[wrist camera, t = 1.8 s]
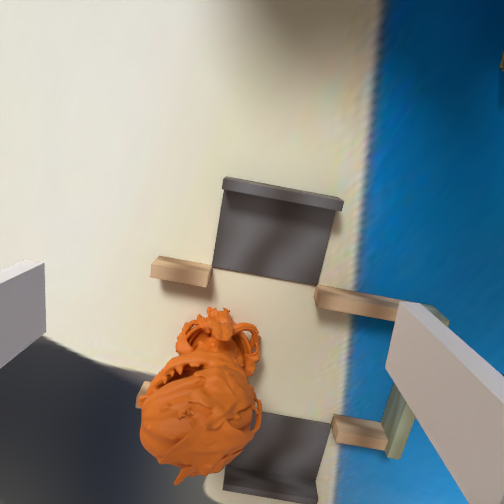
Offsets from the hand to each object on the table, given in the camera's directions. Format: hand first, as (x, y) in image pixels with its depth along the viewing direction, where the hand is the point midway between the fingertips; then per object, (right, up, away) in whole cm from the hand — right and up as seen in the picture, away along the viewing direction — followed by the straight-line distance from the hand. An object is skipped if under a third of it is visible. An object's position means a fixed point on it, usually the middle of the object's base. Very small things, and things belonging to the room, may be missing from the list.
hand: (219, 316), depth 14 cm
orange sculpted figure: (-3, -8, +31) cm, 32 cm away
